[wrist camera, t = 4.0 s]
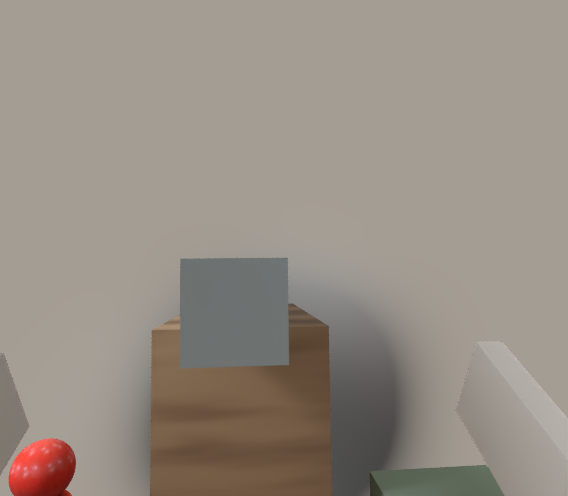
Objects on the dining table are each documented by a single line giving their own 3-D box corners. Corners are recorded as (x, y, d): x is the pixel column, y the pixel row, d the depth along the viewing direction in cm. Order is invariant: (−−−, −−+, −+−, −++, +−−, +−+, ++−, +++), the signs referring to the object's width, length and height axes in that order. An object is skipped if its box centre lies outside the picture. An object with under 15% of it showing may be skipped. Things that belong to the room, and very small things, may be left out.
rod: (289, 365, 13) (287, 257, 13) (179, 368, 13) (180, 258, 13) (262, 304, 43) (262, 271, 43) (229, 304, 43) (229, 271, 43)
